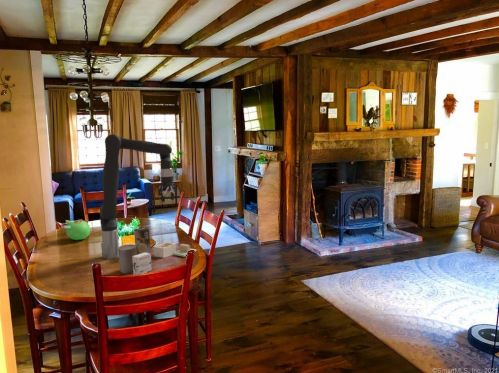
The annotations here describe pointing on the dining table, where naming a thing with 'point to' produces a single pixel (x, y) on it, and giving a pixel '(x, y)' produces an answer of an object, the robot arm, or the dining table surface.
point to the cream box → (164, 249)
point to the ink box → (142, 263)
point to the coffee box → (142, 240)
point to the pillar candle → (126, 258)
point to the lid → (183, 250)
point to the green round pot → (77, 229)
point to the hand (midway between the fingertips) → (168, 200)
